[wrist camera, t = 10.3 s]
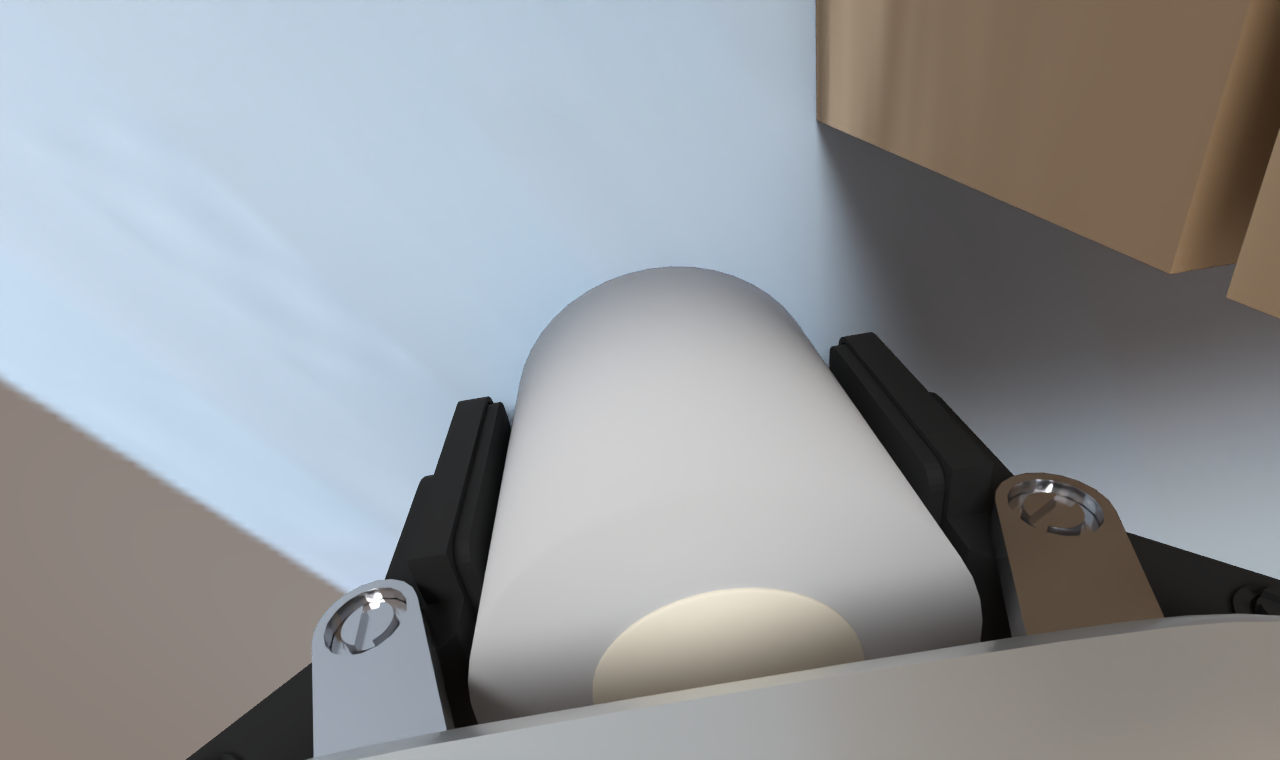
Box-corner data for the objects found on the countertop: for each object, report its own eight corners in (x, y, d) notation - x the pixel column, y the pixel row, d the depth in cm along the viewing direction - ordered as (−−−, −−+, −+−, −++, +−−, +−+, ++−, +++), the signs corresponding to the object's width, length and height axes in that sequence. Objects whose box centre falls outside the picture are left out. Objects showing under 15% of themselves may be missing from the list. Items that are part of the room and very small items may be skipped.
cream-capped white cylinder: (816, 240, 11) (1025, 439, 6) (817, 498, 14) (956, 783, 9) (481, 297, 11) (388, 546, 6) (554, 542, 14) (536, 850, 9)
